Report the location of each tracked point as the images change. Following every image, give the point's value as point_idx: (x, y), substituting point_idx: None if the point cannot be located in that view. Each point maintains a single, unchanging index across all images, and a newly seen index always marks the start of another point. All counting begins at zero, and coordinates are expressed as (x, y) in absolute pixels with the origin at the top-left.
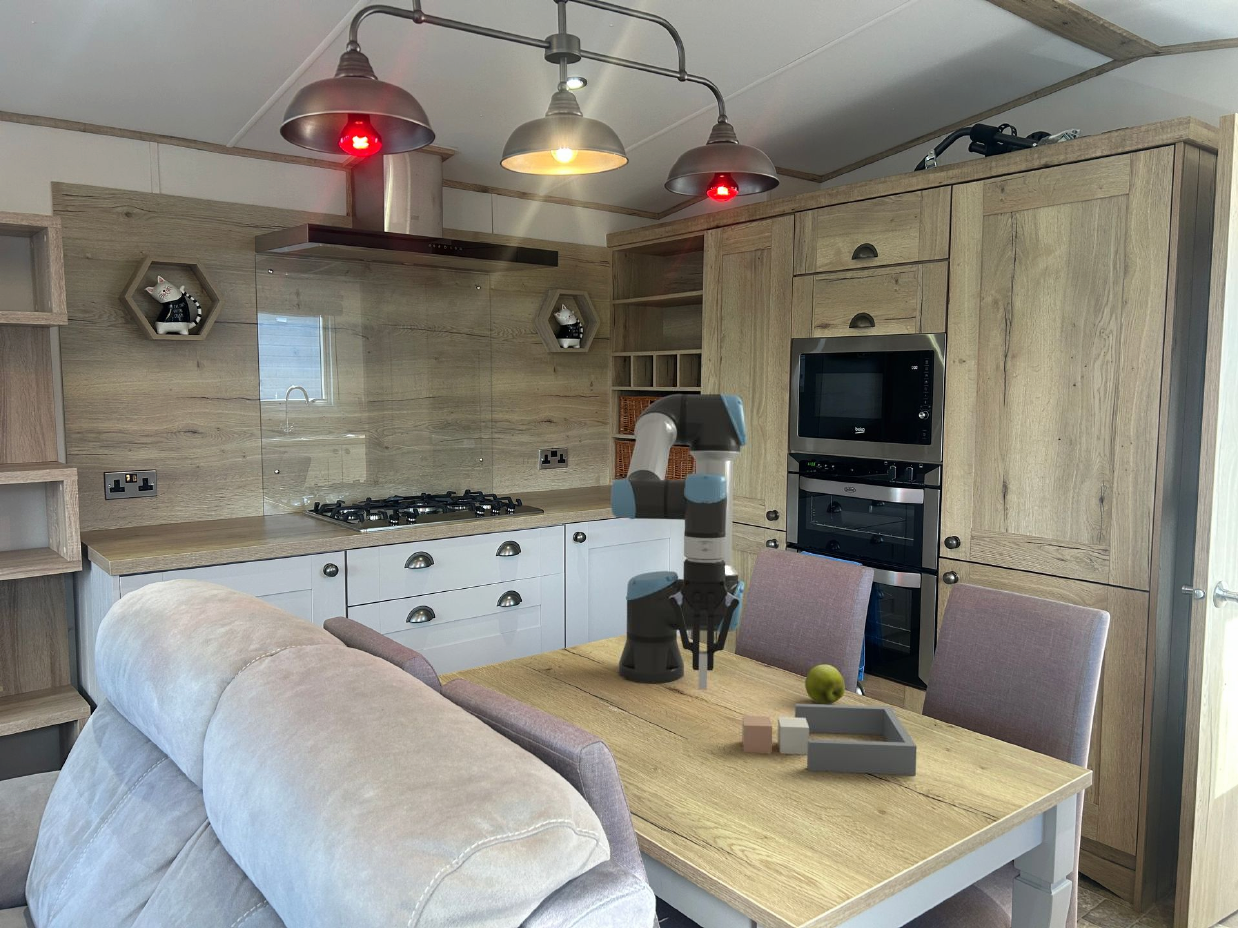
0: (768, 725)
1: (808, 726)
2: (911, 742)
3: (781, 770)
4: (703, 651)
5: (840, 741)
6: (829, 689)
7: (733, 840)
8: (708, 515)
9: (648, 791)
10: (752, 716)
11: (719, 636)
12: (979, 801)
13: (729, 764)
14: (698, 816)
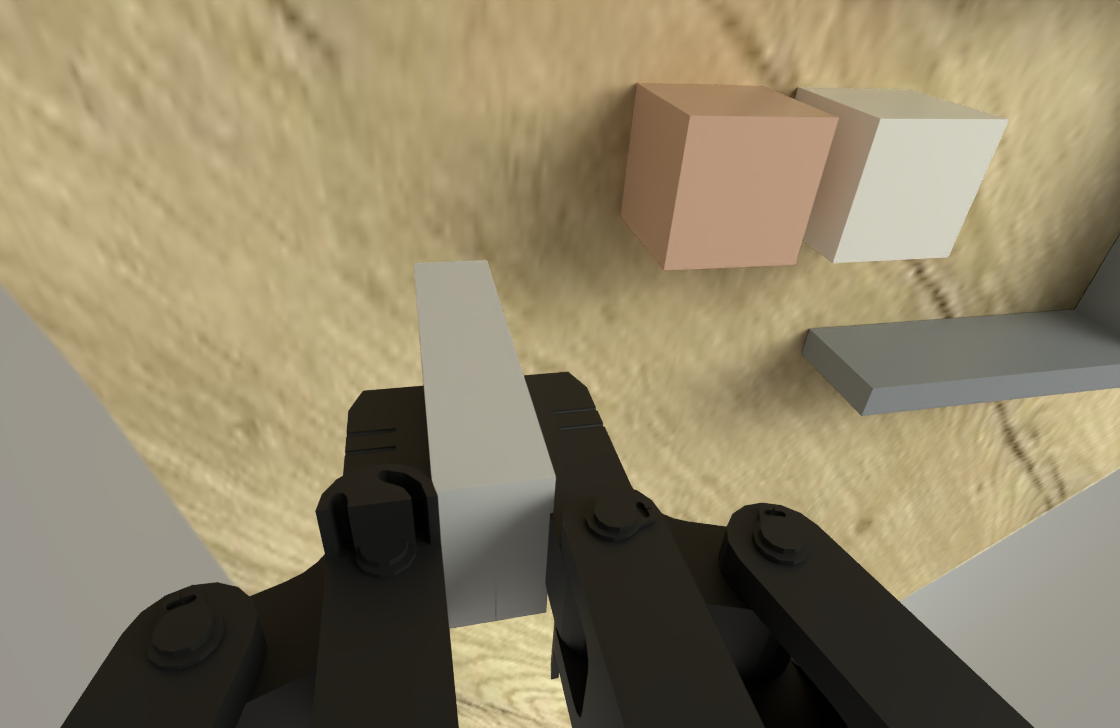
0: (781, 255)
1: (953, 242)
2: None
3: (717, 364)
4: (502, 522)
5: (972, 388)
6: None
7: (516, 682)
8: None
9: (273, 568)
10: (744, 123)
11: (832, 685)
12: (1095, 442)
13: (545, 347)
14: None
